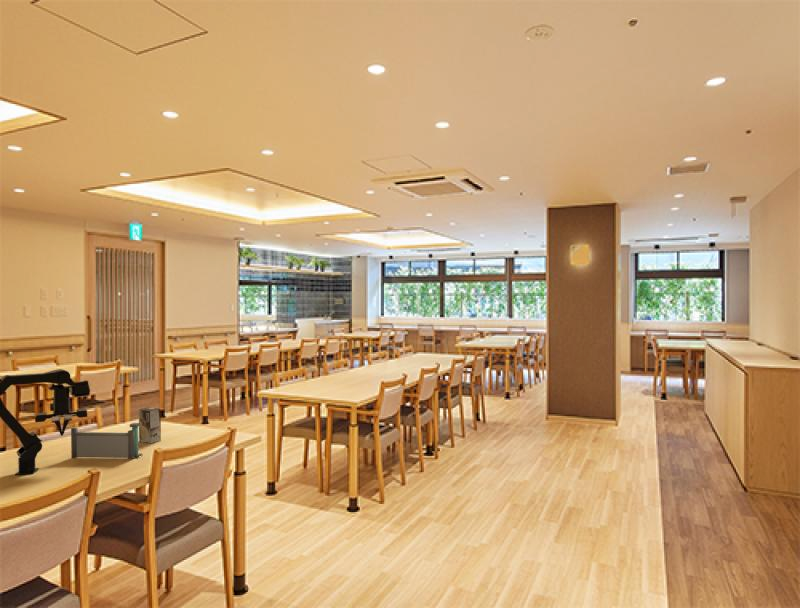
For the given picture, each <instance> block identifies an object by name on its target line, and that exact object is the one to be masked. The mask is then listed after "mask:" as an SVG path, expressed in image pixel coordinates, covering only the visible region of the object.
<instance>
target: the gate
mask: <svg viewBox="0 0 800 608" xmlns="http://www.w3.org/2000/svg"><path fill="white" fill-rule="evenodd" d="M70 435H71V436H70V438H71V439H70V440H71V441H70V443H71V445H70V447H71V448H70V450H71V452H70V454H71V455H70V456H71V459H74V458H99V459H100V458H101V459H107V458H108V459H109V458H111V459H115V458H116V459H134V458H135V430H132V429H130V430H128V431H127V432H103V431H102V432H100V431H99V432H96V431H95V432H93V431H91V432H87V431H86V432H85V431H83V432H82V431H80V432H79V427H75V426H74V427H71V428H70Z"/></svg>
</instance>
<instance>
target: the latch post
mask: <svg viewBox="0 0 800 608" xmlns="http://www.w3.org/2000/svg"><path fill="white" fill-rule="evenodd" d="M139 426H140V423H139V422H133V423H130V424H129V428H131V430H135V457H139V456H141V455H142V456H143V453H140V452H139ZM142 456H141V457H142ZM139 458H140V457H139Z"/></svg>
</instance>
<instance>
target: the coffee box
mask: <svg viewBox="0 0 800 608" xmlns="http://www.w3.org/2000/svg"><path fill="white" fill-rule="evenodd" d="M161 416H162V415H161V408H158V407H157V408H156V407H150V406H149V407H143V408H140V409H138V423H140V426H138V442H141V441H142V442H141V443H146V442H148V443H147V444H153V442H154V443H156V442H160V441H162V429H161V428H162V427H161V425H162V424H161V423H162V422H161V420H162V418H161Z"/></svg>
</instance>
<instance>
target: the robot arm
mask: <svg viewBox="0 0 800 608" xmlns="http://www.w3.org/2000/svg"><path fill="white" fill-rule="evenodd" d="M38 383H39V384H40V383H48V384H50V385H49V386H48V387H47V389H48V390H49V391H53V403H50V404H49V411H50V412H53V413H47V412H37V413H36V414H35V415H34V416H35V417H34V423H43V422H45V421H46V420H49V419H51V423H54V424H55V426H56V428H57V430H58V432H59V434H60V436H64V434H65V431H66V428H67V427H68V426H67V425H68V424H69V422H71V421H72V420H73V417H77V418H82V419H83V418H87V417H88V410H87V409H86V408H77V409H76V411H71V410H70V407H71V406H70V396H72V397H73V398H79V397H80V398H81V397H89V396H90V394H91V388H90V383H89V381H88V380H86V379H85V380H81V381H75V380H73V379H72V378H71V373H70V372H69V371H68V370H65V369H61V368H59V369H53V370H50V371H47V372H46V371H45V372H40V373H25V374H24V373H22V374H5V375H3V376H2V377H1V378H0V419H1V420H2V421H3V422H4V424H6V426H7V427H8V428H9V429H10V430H11V431H12V432H13V433H14V434H15V436H16V438H17V439H18V440H19V443H20V445H21V447H20V448H18V450H17V451H16V454H17V456H18V463H17V464H18V471H16V472H15V473H14V475H15V476H21V474H23V475H32V474H34V473H36V472H38V470H39V467H36V458H37V456H38V453H40V452H41V451H42V449H43V443H42V442H43V440H42V439H41V438H40V437H39V436H38V435H37V433H35V431H31V432H28V431H27V429H25V428H24V426H23V425H22V424H21V423H20V421H18V420H17V418H16V417H15V416H14V415H13V414H12V413H11V411H9V409H8V408H7V407H6V405H5V403H4V402H3V401H4V400H3V399H2V398H1V396H2V395H3V394H4V393H5V392H6V391H7V390H8V389H9V388H10V387H11V386H13V385H14V386H15V385H27V384H38ZM65 384H66V385H65ZM64 385H65V386H64ZM61 418H63V424H62V422H61Z"/></svg>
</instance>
